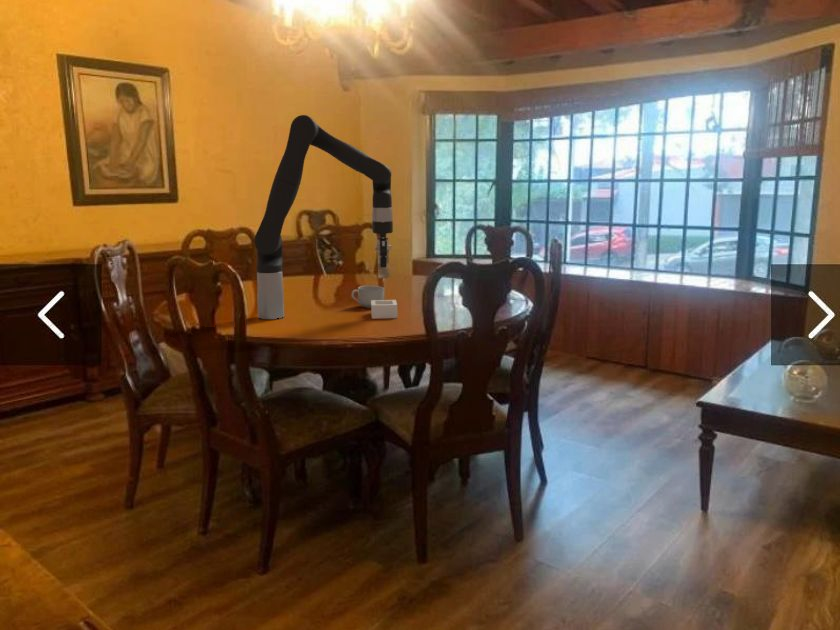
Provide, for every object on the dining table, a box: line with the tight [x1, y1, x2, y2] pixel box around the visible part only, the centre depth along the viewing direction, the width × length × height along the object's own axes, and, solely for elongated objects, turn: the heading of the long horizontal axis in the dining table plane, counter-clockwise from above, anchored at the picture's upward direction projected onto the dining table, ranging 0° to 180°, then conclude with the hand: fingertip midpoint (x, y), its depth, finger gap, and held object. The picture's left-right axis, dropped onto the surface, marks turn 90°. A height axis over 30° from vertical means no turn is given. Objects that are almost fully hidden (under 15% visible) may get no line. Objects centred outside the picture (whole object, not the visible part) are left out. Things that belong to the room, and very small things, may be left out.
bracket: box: [374, 244, 392, 279], centre depth 250 cm, size 6×4×12 cm, turn 95°
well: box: [370, 299, 399, 320], centre depth 253 cm, size 10×11×5 cm
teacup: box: [350, 285, 385, 309], centre depth 271 cm, size 14×11×8 cm
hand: (383, 266), depth 250 cm, fingers closed on bracket, 4 cm apart
